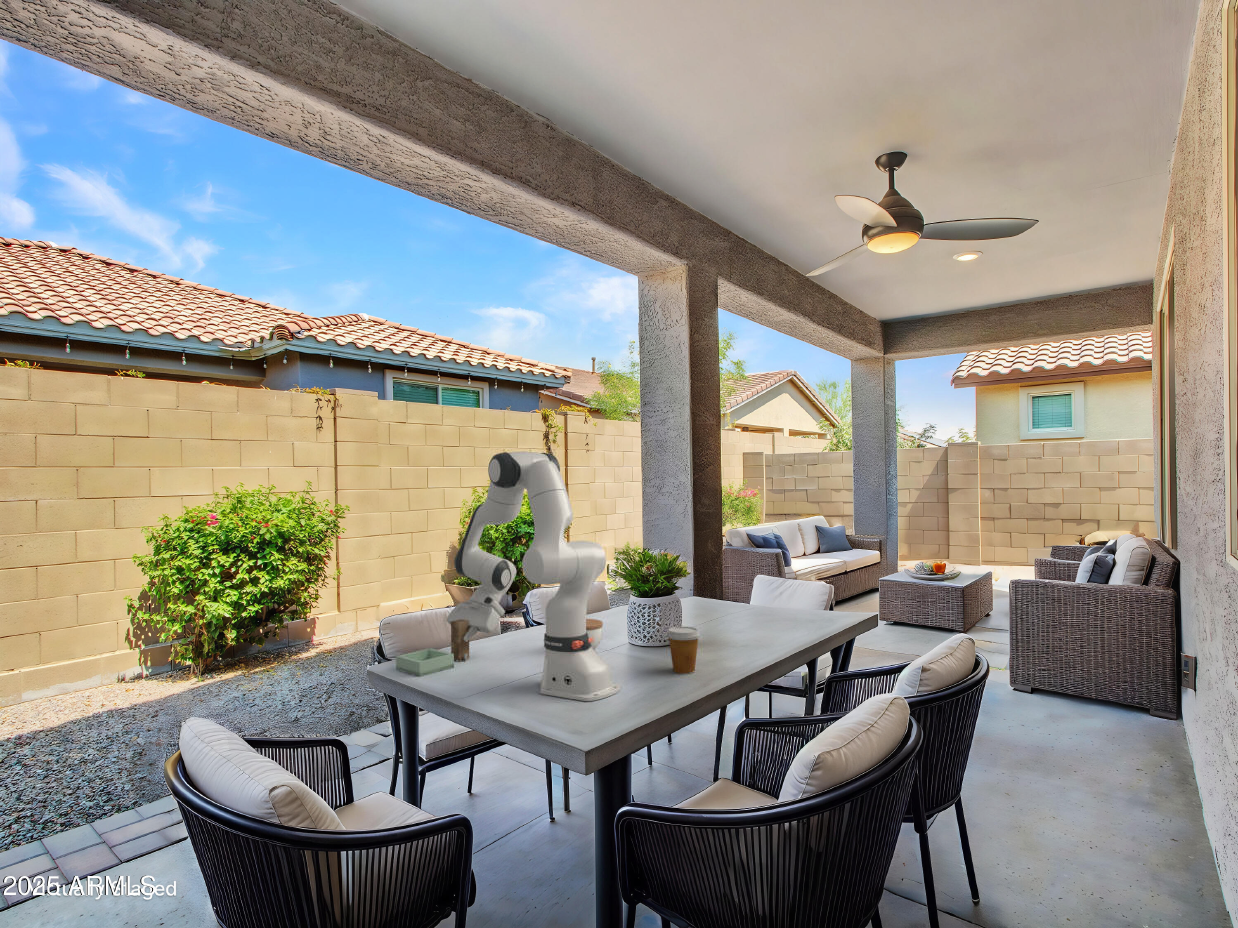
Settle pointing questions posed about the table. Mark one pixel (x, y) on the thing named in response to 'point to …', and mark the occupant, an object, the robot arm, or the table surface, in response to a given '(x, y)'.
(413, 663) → the tray
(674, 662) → the disposable coffee cup
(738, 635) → the table surface
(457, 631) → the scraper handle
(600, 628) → the lidded bowl
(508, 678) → the table surface
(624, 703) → the table surface
